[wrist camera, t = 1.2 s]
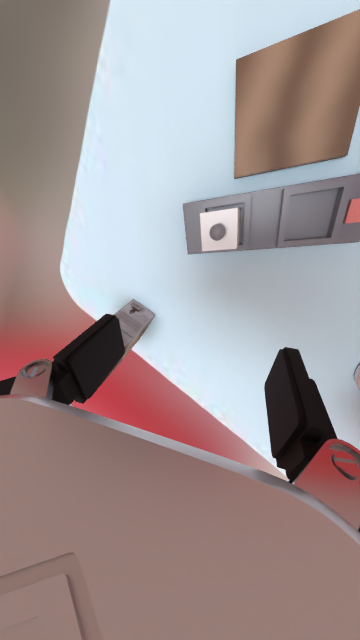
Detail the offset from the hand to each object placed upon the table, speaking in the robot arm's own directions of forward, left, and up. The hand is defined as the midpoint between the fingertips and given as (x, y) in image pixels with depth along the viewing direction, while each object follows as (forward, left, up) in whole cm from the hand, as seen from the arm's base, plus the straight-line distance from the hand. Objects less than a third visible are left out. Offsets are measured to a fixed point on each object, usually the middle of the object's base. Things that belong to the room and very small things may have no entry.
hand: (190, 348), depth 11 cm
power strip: (-5, -5, -24) cm, 25 cm away
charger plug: (0, -5, -22) cm, 22 cm away
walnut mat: (-7, -15, -24) cm, 29 cm away
